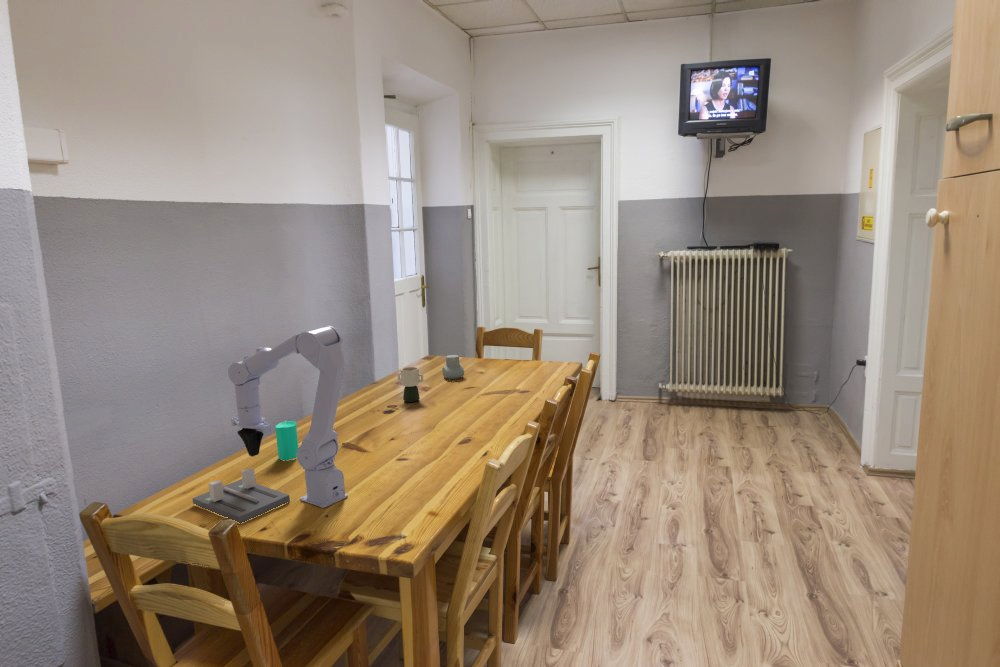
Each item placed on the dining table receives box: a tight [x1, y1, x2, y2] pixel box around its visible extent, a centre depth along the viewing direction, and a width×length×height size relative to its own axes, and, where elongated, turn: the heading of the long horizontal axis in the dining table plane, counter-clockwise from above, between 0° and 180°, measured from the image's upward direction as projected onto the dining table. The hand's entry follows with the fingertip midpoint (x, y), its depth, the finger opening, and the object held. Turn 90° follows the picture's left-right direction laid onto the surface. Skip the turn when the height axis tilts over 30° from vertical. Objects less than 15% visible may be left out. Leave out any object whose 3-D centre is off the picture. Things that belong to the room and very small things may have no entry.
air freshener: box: [441, 354, 465, 380], centre depth 282 cm, size 11×8×10 cm
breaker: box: [241, 467, 257, 489], centre depth 165 cm, size 2×2×4 cm
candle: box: [274, 419, 300, 460], centre depth 191 cm, size 6×6×12 cm
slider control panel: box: [192, 478, 291, 525], centre depth 160 cm, size 20×14×3 cm
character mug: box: [397, 366, 424, 403], centre depth 247 cm, size 11×7×13 cm, turn 72°
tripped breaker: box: [208, 479, 224, 502], centre depth 158 cm, size 2×2×4 cm
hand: (254, 455), depth 168 cm, fingers closed
